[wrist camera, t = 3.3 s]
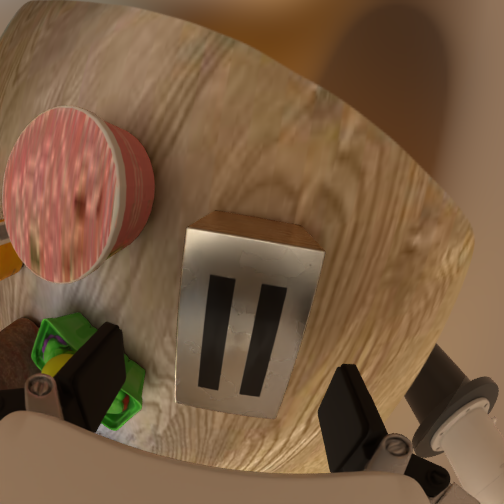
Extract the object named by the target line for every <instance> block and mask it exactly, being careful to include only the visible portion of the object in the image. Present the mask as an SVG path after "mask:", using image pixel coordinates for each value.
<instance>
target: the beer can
mask: <svg viewBox="0 0 504 504" xmlns="http://www.w3.org/2000/svg"><path fill="white" fill-rule="evenodd" d="M22 264H23V261H22V260H21V259H20V258H19V256H18V254H17V253H16V251H15V249H14V247H13V245H12V243H11V240H10V238H9V235H8V233H7V229H6V225H5V221H4V219H2V220H0V281H1V280H3V279H5V278H7V277H9V276H11V275H13V274H15V273H17V272H19V270H20V269H21V267H22Z"/></svg>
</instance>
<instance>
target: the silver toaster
mask: <svg viewBox="0 0 504 504" xmlns="http://www.w3.org/2000/svg"><path fill="white" fill-rule="evenodd" d="M325 254H326V252H325V250H324V249H323V248H322V247H321V246H320V245H319V244H318V243H317V242H316V241H315V240H314V238H313V237H312V236H311V235H310V234H309V233H308V232H307V231H306V230H305V229H304V228H303V227H302V226H301V225H297V224H291V223H286V222H281V221H275V220H270V219H264V218H259V217H253V216H247V215H241V214H235V213H229V212H223V211H217V210H215V211H214V212H212V213H210V214H208V215H206V216H205V217H203V218H201V219H200V220H198V221H196V222H194V223H193V224H191V225H189V226H187V227H186V233H185V241H184V250H183V259H182V269H181V280H180V292H179V305H178V319H177V337H176V361H175V402H176V403H180V404H184V405H189V406H193V407H198V408H202V409H207V410H212V411H218V412H223V413H229V414H236V415H243V416H250V417H258V418H267V419H276V417H277V414H278V411H279V408H280V406H281V403H282V400H283V397H284V395H285V392H286V389H287V386H288V383H289V380H290V377H291V374H292V371H293V368H294V365H295V362H296V359H297V355H298V352H299V349H300V346H301V343H302V339H303V336H304V333H305V329H306V326H307V322H308V319H309V315H310V312H311V308H312V305H313V301H314V297H315V294H316V290H317V286H318V282H319V278H320V274H321V270H322V266H323V262H324V258H325Z"/></svg>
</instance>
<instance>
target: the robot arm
mask: <svg viewBox="0 0 504 504" xmlns="http://www.w3.org/2000/svg"><path fill="white" fill-rule="evenodd" d="M125 381H126V368H125V358H124V347H123V334H122V330H121V329H119V326H118V325H115V324H112V323H108V322H105V323H104V324H103V325H102V326H101V327H100V328H99V329H98V330H97V331H96V332H95V333H94V334H93V335H92V336H91V338H90V339H89V340H88V341H87V342H86V343H85V344H84V345H83V346H81V347H80V348H79V349H78V351H77V352H76V353H75V354H74V355H73V356H72V357H71V358H70V359H69V360H68V361H67V362H66V363H65V364H64V366H63V367H62V368H61V369H60V370H59V371H58V372H57V373H56V374H55V376H54V377H51V376H50V375H48V374H44V373H38V374H34V375H32V376H30V377H29V378H28V379H27V380H26V382H25V386H24V388H17V389H7V390H0V504H504V436H503V435H502V434H501V432H500V431H499V430H498V428H497V427H496V425H495V423H496V421H497V418H496V417H493V418H490V416H489V415H488V414H487V412H488V410H489V406H490V404H489V401H488V400H487V399H486V398H485V397H481V398H477V399H475V400H472V401H471V402H469V403H467V404H466V405H464V406H463V407H461V408H460V409H459V410H457V411H456V412H455V413H454V414H453V415H451V416H450V417H449V418H448V419H447V420H446V421H445V422H444V423H443V424H442V425H441V426H440V427H439V429H438V430H437V431H436V433H435V434H434V436H433V437H432V440H431V443H430V445H431V447H432V449H433V450H434V451H444V452H445V454H446V456H447V458H448V460H449V462H450V463H451V466H452V467H453V470H454V471H455V473H456V475H457V477H458V479H459V481H460V483H461V486H462V488H463V489H462V488H461V487H460V486H458V485H457V484H456V483H455V482H454V483H453V484H451V483H450V475H449V473H448V471H447V470H446V469H444V468H442V467H441V466H439V465H436V464H434V463H432V462H429V461H427V460H425V459H423V458H421V457H419V456H417V455H415V454H413V453H412V451H413V446H412V443H411V441H410V440H409V439H408V438H407V437H405V436H403V435H400V434H397V433H395V434H394V433H392V434H388V433H387V431H386V428H385V426H384V424H383V422H382V419H381V417H380V415H379V413H378V410H377V408H376V406H375V404H374V402H373V399H372V397H371V395H370V394H369V392H368V390H367V388H366V386H365V383H364V381H363V379H362V377H361V375H360V373H359V371H358V369H357V367H356V365H355V364H342V365H341V366H340V367H337V369H336V371H335V373H334V376H333V378H332V380H331V383H330V385H329V387H328V389H327V392H326V394H325V396H324V398H323V400H322V402H321V405H320V407H319V409H318V417H319V422H320V427H321V431H322V436H323V440H324V445H325V450H326V455H327V459H328V464H329V469H330V472H331V473H318V474H283V473H263V472H251V471H241V470H232V469H225V468H218V467H212V466H206V465H200V464H195V463H190V462H186V461H181V460H177V459H173V458H169V457H165V456H161V455H157V454H154V453H150V452H147V451H143V450H140V449H137V448H134V447H131V446H128V445H125V444H122V443H119V442H117V441H114V440H111V439H108V438H106V437H103V436H101V435H98V434H95V433H94V432H96V431H97V429H98V427H99V425H100V424H101V422H102V420H103V419H104V417H105V415H106V413H107V412H108V410H109V408H110V406H111V405H112V403H113V401H114V400H115V398H116V396H117V395H118V393H119V391H120V390H121V388H122V386H123V385H124V383H125Z"/></svg>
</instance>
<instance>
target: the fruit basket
mask: <svg viewBox="0 0 504 504" xmlns="http://www.w3.org/2000/svg"><path fill="white" fill-rule="evenodd" d="M96 331H97V329H96V328H94V327H92V326H91V324H90V323H89V321H88V320H87V319H86V318H85V317H84V316H83V315H82V314H81V313H79V312H78V313H73V314H69V315H66V316H62V317H58V318H47V319H43V320H42V322H41V326H40V328H39V331H38V334H37V337H36V340H35V343H34V347H33V350H32V354H31V357H32V360H33V361H34V363H35V364H36V366H37V367H38V368H39V369H40V370H41V371H42V372H41V373H44V374H48V375H50V376H51V377H54V376H55V374H56V373H57V372H58V371H59V370H60V369H61V368H62V367H63V366H64V364H65V363H66V362H67V361H68V360H69V359H70V358H71V357H72V356H73V355H74V354H75V353H76V352H77V351H78V349H79V348H80V347H81V346H83V345H84V344H85V343H86V342H87V341H88V340H89V339H90V338H91V336H92V335H93V334H94V333H95V332H96ZM124 358H125V368H126V381H125V383H124V385H123V386H122V388H121V390H120V391H119V393H118V395H117V396H116V398H115V400H114V401H113V403H112V405H111V406H110V408H109V410H108V412H107V413H106V415H105V417H104V419H103V420H102V422H101V423H102V424H103V425H104V426H106V427H107V428H109V429H111V430H114V431H117V430H118V429H119V428H120V427H122V426H123V425H124V424H125V423H126V422H127V421H128V420H129V419H130V418H132V417H133V416H134V415H135V414H137V413H138V412H139V411H140V410H141V409H142V390H143V384H144V377H145V370H144V369H143V368H142V367H140V366H139V365H138V364H137V363H135V362H134V361H132V360H129V358H128V357H127V355H126V354H124Z"/></svg>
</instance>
